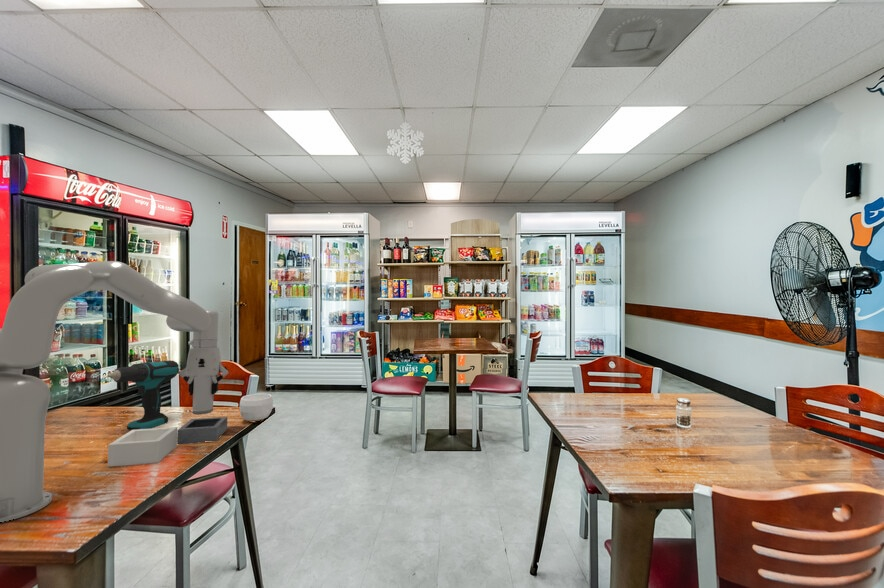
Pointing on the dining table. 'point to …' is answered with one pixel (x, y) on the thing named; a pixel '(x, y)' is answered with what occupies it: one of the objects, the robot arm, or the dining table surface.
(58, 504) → the dining table surface
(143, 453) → the light grey square tray
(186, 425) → the socket block
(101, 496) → the dining table surface
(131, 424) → the power drill
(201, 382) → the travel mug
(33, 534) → the dining table surface
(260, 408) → the cup
